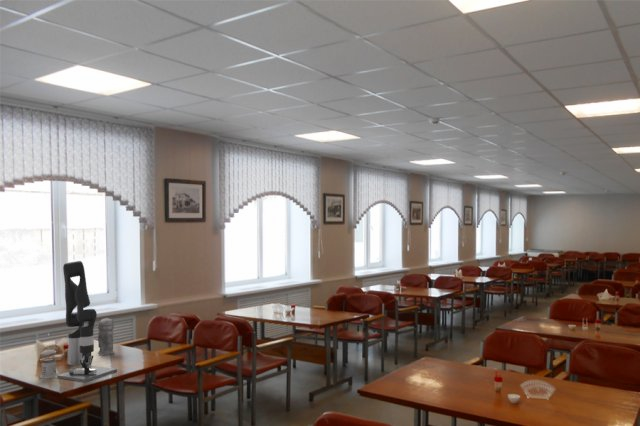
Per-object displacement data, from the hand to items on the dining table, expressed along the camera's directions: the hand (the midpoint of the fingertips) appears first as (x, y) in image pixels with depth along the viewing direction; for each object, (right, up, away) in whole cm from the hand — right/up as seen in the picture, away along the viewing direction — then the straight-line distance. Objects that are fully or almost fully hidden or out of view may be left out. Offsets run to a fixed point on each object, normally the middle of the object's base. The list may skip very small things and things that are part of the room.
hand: (86, 374), depth 291 cm
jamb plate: (-3, -3, +9) cm, 10 cm away
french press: (-27, -4, +9) cm, 29 cm away
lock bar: (-4, -1, +4) cm, 6 cm away
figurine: (-15, -5, +61) cm, 63 cm away
